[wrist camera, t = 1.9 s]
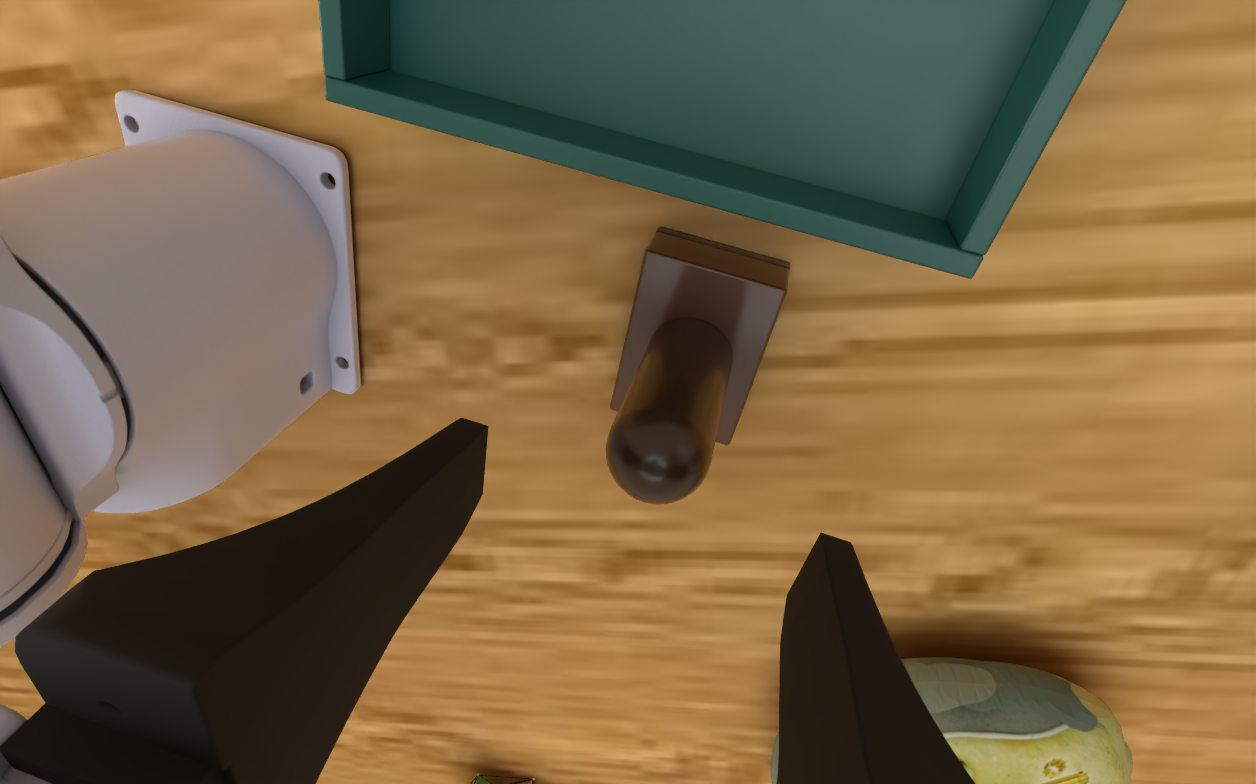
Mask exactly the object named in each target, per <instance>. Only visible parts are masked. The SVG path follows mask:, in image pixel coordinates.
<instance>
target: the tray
mask: <svg viewBox="0 0 1256 784" xmlns="http://www.w3.org/2000/svg"><path fill="white" fill-rule="evenodd" d="M318 1H319V15H320V28H321V42H322V55H323V69H324V74H325V75H326V76H325V78H324V82H325V96H326V100H328V101H331V102H334V103H338V104H342V105H345V106H349V107H352V108H356V109H360V110H363V111H367V112H370V113H374V114H378V115H381V116H385V117H388V118H392V119H396V120H399V121H403V122H407V123H410V124H414V125H417V126H421V127H425V128H428V129H432V130H435V131H439V132H443V133H446V134H450V135H453V136H457V137H461V138H464V139H468V140H471V141H475V142H479V143H482V144H486V145H489V146H493V147H497V148H500V149H504V150H507V151H511V152H515V153H518V154H522V155H525V156H529V157H533V158H536V159H540V160H544V161H547V162H551V163H554V164H558V165H562V166H565V167H569V168H572V169H576V170H580V171H583V172H587V173H590V174H594V175H598V176H601V177H605V178H608V179H612V180H616V181H619V182H623V183H626V184H630V185H634V186H637V187H641V188H644V189H648V190H652V191H655V192H659V193H663V194H666V195H670V196H673V197H677V198H681V199H684V200H688V201H691V202H695V203H699V204H702V205H706V206H709V207H713V208H717V209H720V210H724V211H727V212H731V213H735V214H738V215H742V216H745V217H749V218H753V219H756V220H760V221H763V222H767V223H771V224H774V225H778V226H781V227H785V228H789V229H792V230H796V231H800V232H803V233H807V234H810V235H814V236H818V237H821V238H825V239H828V240H832V241H836V242H839V243H843V244H846V245H850V246H854V247H857V248H861V249H864V250H868V251H872V252H875V253H879V254H882V255H886V256H890V257H893V258H897V259H900V260H904V261H908V262H911V263H915V264H919V265H922V266H926V267H929V268H933V269H937V270H940V271H944V272H947V273H951V274H955V275H958V276H962V277H965V278H972V277H973V276H974V275H975V273H976V271H977V269H978V267H979V266H980V264H981V262H982V260H983V255H985V254H986V253H987V251H988V249H989V247H990V246H991V244H992V242H993V240H994V238H995V237H996V235H997V233H998V231H999V229H1000V228H1001V226H1002V224H1003V222H1004V220H1005V219H1006V217H1007V215H1008V213H1009V211H1010V210H1011V208H1012V206H1013V204H1014V202H1015V201H1016V199H1017V197H1018V195H1019V193H1020V192H1021V190H1022V188H1023V186H1024V184H1025V183H1026V181H1027V179H1028V177H1029V175H1030V174H1031V172H1032V170H1033V168H1034V166H1035V165H1036V163H1037V161H1038V159H1039V157H1040V156H1041V154H1042V152H1043V150H1044V148H1045V147H1046V145H1047V143H1048V141H1049V139H1050V138H1051V136H1052V134H1053V132H1054V130H1055V129H1056V127H1057V125H1058V123H1059V121H1060V120H1061V118H1062V116H1063V114H1064V112H1065V111H1066V109H1067V107H1068V105H1069V103H1070V102H1071V100H1072V98H1073V96H1074V94H1075V93H1076V91H1077V89H1078V87H1079V85H1080V83H1081V82H1082V80H1083V78H1084V76H1085V74H1086V73H1087V71H1088V69H1089V67H1090V65H1091V64H1092V62H1093V60H1094V58H1095V56H1096V55H1097V53H1098V51H1099V49H1100V47H1101V46H1102V44H1103V42H1104V40H1105V38H1106V37H1107V35H1108V33H1109V31H1110V29H1111V28H1112V26H1113V24H1114V22H1115V20H1116V19H1117V17H1118V15H1119V13H1120V11H1121V10H1122V8H1123V6H1124V4H1125V2H1126V1H1127V0H318Z"/></svg>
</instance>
